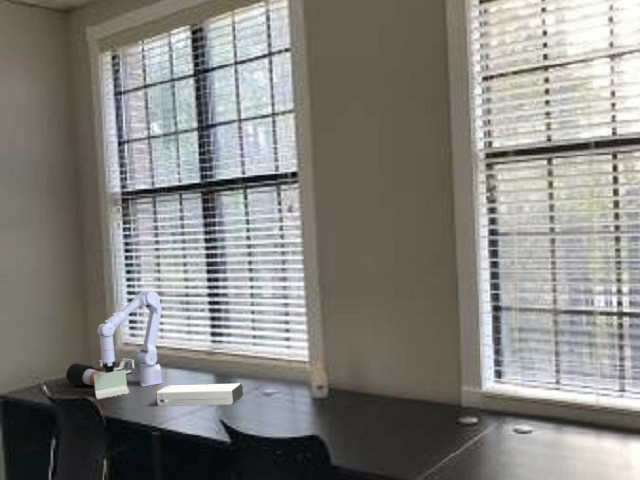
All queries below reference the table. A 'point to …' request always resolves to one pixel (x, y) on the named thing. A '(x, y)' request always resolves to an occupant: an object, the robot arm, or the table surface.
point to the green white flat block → (111, 392)
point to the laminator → (199, 394)
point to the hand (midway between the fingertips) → (110, 378)
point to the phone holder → (123, 366)
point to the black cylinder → (81, 374)
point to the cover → (110, 380)
